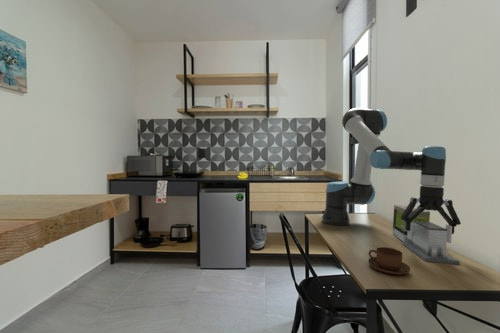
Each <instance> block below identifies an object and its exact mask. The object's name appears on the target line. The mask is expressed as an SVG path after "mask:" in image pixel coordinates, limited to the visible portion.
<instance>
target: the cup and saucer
mask: <svg viewBox="0 0 500 333" xmlns="http://www.w3.org/2000/svg"><path fill="white" fill-rule="evenodd" d="M371 253H375V254H376V256H372V254H371ZM368 256H369V258H368V264H369V265H370V266H371V267H372V268H373V269H374V270H377V271H379V272H381V273H386V274H389V275H395V276H396V275H399V276H400V275H406V274H408V273H410V271H411V267H410V265H408V264H407V263H405V262H404V261H403V252H402V251H400V250H399V249H395V248H391V247H385V246H380V247H377V248H376V250H375V249H370V250H369V251H368Z"/></svg>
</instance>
